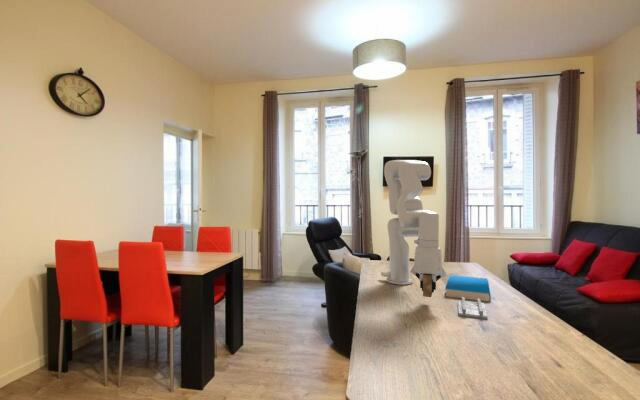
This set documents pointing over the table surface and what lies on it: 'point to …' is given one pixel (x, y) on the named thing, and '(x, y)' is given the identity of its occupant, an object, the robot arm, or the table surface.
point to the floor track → (472, 309)
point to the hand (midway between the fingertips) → (427, 290)
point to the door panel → (427, 285)
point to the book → (468, 287)
